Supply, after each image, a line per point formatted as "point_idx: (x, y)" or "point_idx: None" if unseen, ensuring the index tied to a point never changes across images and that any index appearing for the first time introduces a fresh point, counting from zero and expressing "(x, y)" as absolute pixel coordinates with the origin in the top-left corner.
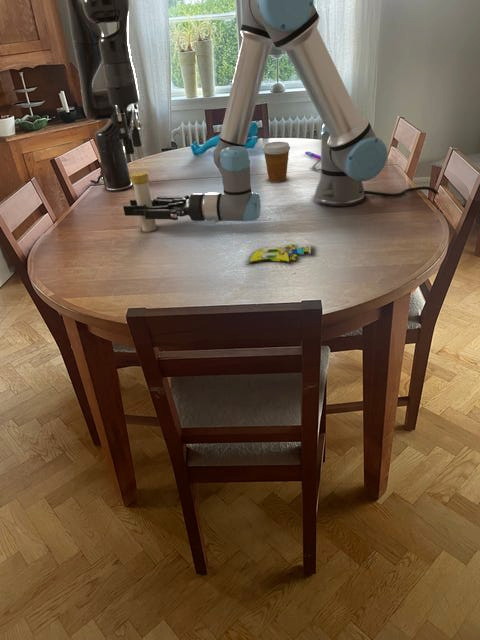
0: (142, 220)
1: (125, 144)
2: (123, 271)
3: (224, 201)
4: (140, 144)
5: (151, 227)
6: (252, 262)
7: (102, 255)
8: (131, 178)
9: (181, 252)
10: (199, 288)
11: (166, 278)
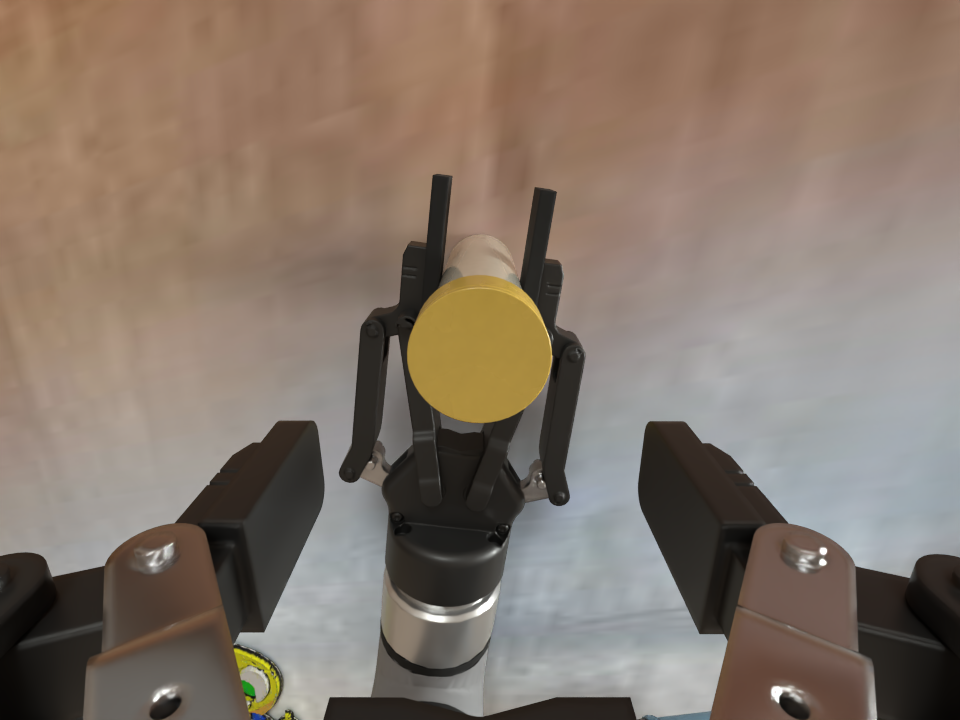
0: (447, 262)
1: (192, 514)
2: (55, 264)
3: (387, 672)
4: (645, 507)
5: None
6: None
7: (183, 114)
8: (428, 302)
9: (242, 443)
10: (5, 529)
11: (40, 429)
